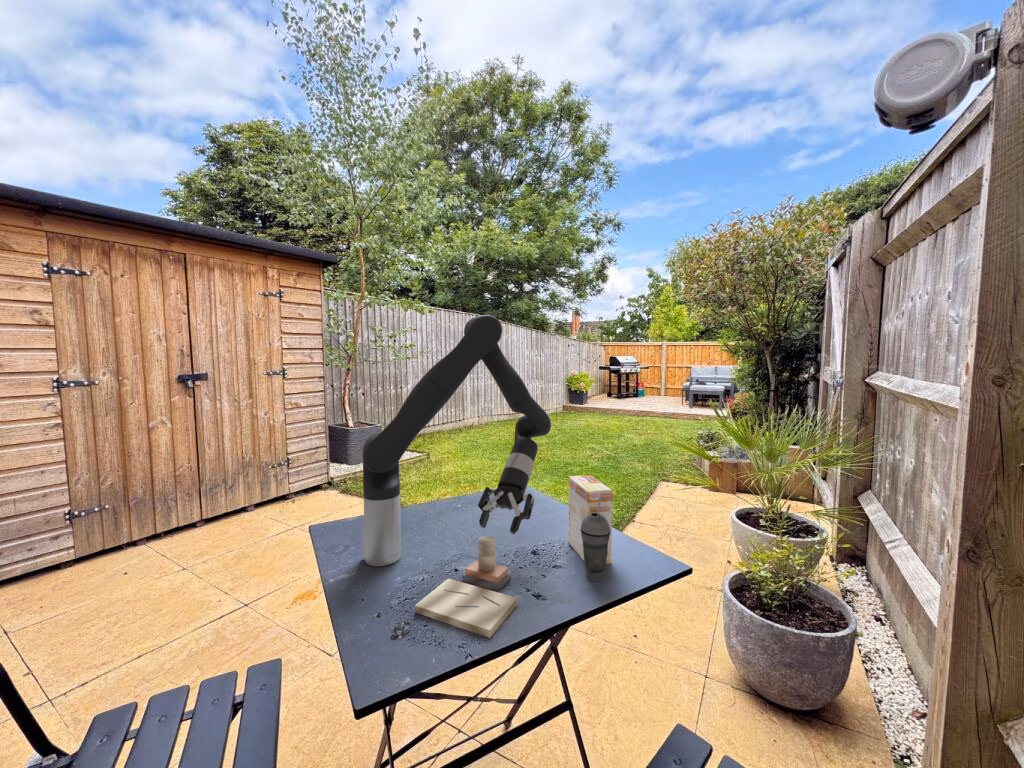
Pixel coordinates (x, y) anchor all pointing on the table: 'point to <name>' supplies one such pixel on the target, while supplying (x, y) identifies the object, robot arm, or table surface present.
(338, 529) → the table surface
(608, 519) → the coffeecake box
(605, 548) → the beverage cup
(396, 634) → the gravel pile
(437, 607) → the board
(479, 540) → the block
